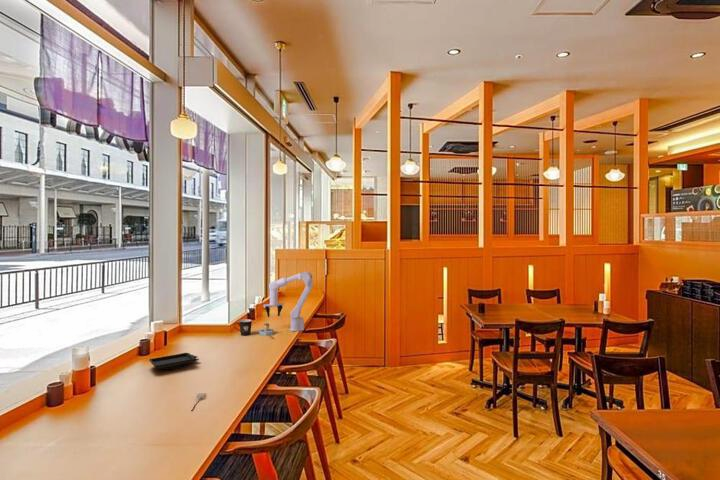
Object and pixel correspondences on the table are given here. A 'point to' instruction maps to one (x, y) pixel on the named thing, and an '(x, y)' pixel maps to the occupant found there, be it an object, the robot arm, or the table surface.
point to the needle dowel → (266, 327)
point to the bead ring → (266, 332)
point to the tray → (173, 361)
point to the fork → (199, 396)
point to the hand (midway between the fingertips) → (273, 316)
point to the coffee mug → (245, 327)
